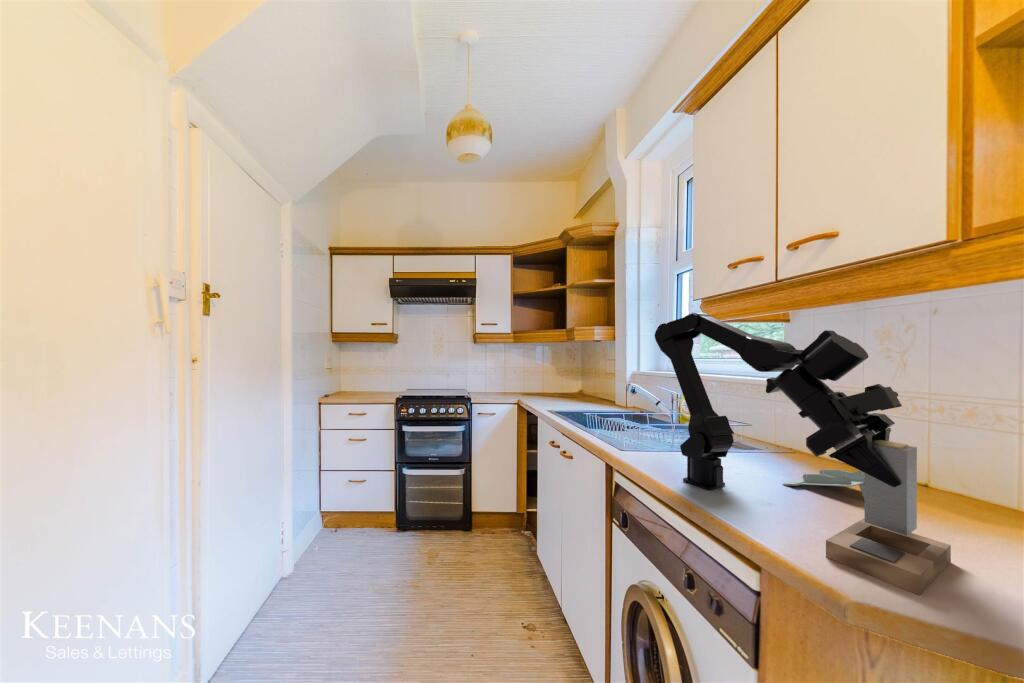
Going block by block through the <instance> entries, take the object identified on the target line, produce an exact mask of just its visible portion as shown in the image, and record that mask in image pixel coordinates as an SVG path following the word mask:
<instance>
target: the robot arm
mask: <svg viewBox="0 0 1024 683" xmlns="http://www.w3.org/2000/svg"><path fill="white" fill-rule="evenodd" d="M700 335H703V336H705V337H707V338H709V339H711V340H713V341H715V342H717V343H719V344H721V345H723V346H725V347H727V348H729V349H731V350H732V351H734V352H736V353H737V354H738V355H739V357H740V358H741V361H743V362H745V364H747V365H748V366H750V367H751V368H752V369H754V370H755V371H757V372H761V373H780V374H778V375H777V376H776V377H769V378H766V386H765V393H767V394H771V393H773V394H774V393H777V392H782V393H783V394H784V395H785V396H786V398H788V400H790V401H791V402H792V403H793V404H794V405H795V406H796V407H797V408H798V409H799V410H800V411H799V412H798V413H797V414H798V415H799V416H800V417H801V418H802V419H805V418H806V419H807V418H808V419H809V420H810V421H811V422H812V423H813V424H814V425H815V426H816V427H817V429H818V430H817V431H815V432H813V433H812V434H810V435H809V436H807V437H806V439H805V446H806V448H807V449H809V451H810V452H811V453H812V454H813V455H814V456H815V457H819V456H822V455H825V454H826V453H827V451H829V450H830V449H832V448H833V449H834V450H835V451H833V452H831V453H830V454H829V455H828V457H829V458H831V459H835V460H837V461H839V462H842V463H844V464H846V465H848V466H850V467H853V468H855V469H856V470H857V471H862V472H864V473H866V474H868V475H870V476H872V477H874V478H876V479H878V480H880V481H882V482H884V483H886V484H888V485H890V486H892V487H897V486H899V485H901V482H900V481H899V479H898V478H897V477H896V476H895V474H894V473H893V472H892V471H891V469H890V468H889V467H888V466H887V465H886V464H885V462H884V461H883V460H882V459H881V458H880V456H879V455H878V454H877V453H876V452H875V451H874V449H873V448H872V441H875V440H877V441H879V440H883V441H889V442H890V435H891V432H892V428H891V427H892V426H894V425H895V424H896V422H894V421H893V419H891V418H890V417H889V416H887V415H886V414H885V413H877V412H875V411H886V410H891V409H896V408H900V407H902V406H903V405H902V403H901V401H900V400H899V399H898V397H899V394H898V392H897V391H894V390H893V388H892V387H891V386H883V385H882V384H881V383H875V384H873V385H869V386H864V387H865V388H864V392H860V393H856V394H852V395H847V394H846V393H845V392H843V391H841V392H840V391H834V390H833V389H832V388H830V387H829V386H828V385H827V384H826V383H825V382H824V381H827V380H829V381H832V382H837V381H838V380H840V379H841V378H843V377H845V375H847V374H848V373H849V372H851V371H852V370H854V369H855V368H856V367H857V366H859V365H861V364H862V363H863V362H864V361H867V359H868V358H869V353H868V352H867V351H866V349H864V348H863V347H862V346H861V345H860V344H859V343H857V342H853V341H852V340H850V339H848V338H847V337H845V336H843V335H840V334H838V333H836V331H835V330H829V329H828V330H825V329H824V331H822V332H821V333H819V335H818V336H817V338H815V339H814V341H812V342H811V343H810V344H809V345H808V346H807V347H806V348H804V349H796V347H795V346H794V345H793V344H791V343H788V342H785V341H780V340H776V339H772V338H768V337H762V336H759V335H758V336H757V335H755V334H754V335H753V334H751V333H748V332H747V331H745V330H742V329H739V328H738V327H735V326H734V325H731V324H728V323H726V322H724V321H721V320H720V319H717V318H714V317H713V316H711V315H710V314H708V313H705V312H704V313H703V312H691V313H690V314H687V315H685V316H684V317H681V318H678V319H675V320H671V321H669V322H667V323H665V322H664V323H661V324H659V326H657V329H656V330H655V333H654V340H655V342H656V344H657V346H658V347H659V350H660V351H661V352H662V353H663V354H664V355H665V356H666V357H667V358H669V361H671V364H672V367H673V370H674V373H675V376H676V379H677V382H678V385H679V387H680V389H681V393H682V395H683V398H684V402H685V404H686V406H687V409H688V413H689V415H690V417H689V422H688V426H687V430H688V435H689V437H688V438H687V439H686V440H685V441H684V442H682V444H680V446H679V448H680V452H681V455H682V456H684V457H686V459H687V462H686V463H687V464H686V466H687V467H686V471H687V472H686V477H684V478H682V481H683V482H686V483H687V484H691V485H694V486H697V487H699V488H702V489H704V490H708V491H710V490H713V489H717V488H720V487H724V486H726V482H724V467H723V465H722V458H727V455H728V453H729V450H730V449H731V448H732V446H733V444H734V442H735V441H734V436H733V435H735V432H734V430H733V429H732V427H731V426H730V422H729V421H730V420H729V418H728V417H727V416H726V415H719V414H717V412H716V411H714V409H713V406H712V404H711V401H710V398H709V396H708V393H707V391H706V388H705V386H704V384H703V381H702V378H701V375H700V372H699V369H698V367H697V364H696V363H695V360H694V357H693V353H692V352H693V350H694V348H693V347H694V339H696V338H697V337H700ZM871 412H873V413H871ZM862 472H861V473H862Z"/></svg>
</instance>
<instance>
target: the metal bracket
mask: <svg viewBox="0 0 1024 683" xmlns="http://www.w3.org/2000/svg"><path fill="white" fill-rule="evenodd" d="M781 485H782V486H790V487H791V486H793V487H794V486H795V487H797V486H805V485H807V486H828V487H830V486H831V487H847V488H848V487H850V488H851V487H852V488H853V487H857V486H859V489H860V491H861V494H862V498H863V500H864V502H865V473H864V472H862V471H860V470H856V471H854V472H851V471H847V470H842V469H820V470H819V473H804V474H803V475H802V478H798V479H795V480H791V481H787V482H783V483H782V484H781Z"/></svg>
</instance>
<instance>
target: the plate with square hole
mask: <svg viewBox="0 0 1024 683" xmlns="http://www.w3.org/2000/svg"><path fill="white" fill-rule="evenodd" d="M951 549H952V545H951V544H948V543H945V542H942V541H939V540H935V539H932V538H929V537H926V536H923V535H921V534H916V533H913V532H911V533H910V534H909V535H907V536H906V535H903V534H900V533H897V532H894V531H890V530H887V529H884V528H881V527H878V526H875V525H872V524H869V523H865V517H864V518H862V519H860V520H858V521H856V522H855V523H853V524H851V525H850V526H848V527H847V528H845V529H843V530H841V531H839V532H838V533H836V534H834V535H832V536H831V537H829V538H827V539H826V540H825V558H827V557H828V558H827V559H829V558H830V559H829V560H832V561H834V560H835V562H837V563H840V564H842V565H845V566H847V567H849V568H852V569H854V570H857V571H859V572H861V573H864V574H867V575H868V576H872V577H874V578H876V579H879V580H881V581H884V582H886V583H888V584H891V585H894V586H896V587H899V588H901V589H902V590H906V591H909V592H911V593H914V594H916V595H919V596H921V595H922V593H923V592H925V591H926V589H927V588H928V587H929V586H930V585H931V584H932V583H933V582H934V581H935V580H936V579H937V578H938V577H939V576H940V574H941V573H942V572H944V570H945V569H946V568H947V567H948V566H949V565H950V564H951V563H952V560H951V559H952V558H951V556H952V554H951V553H952V550H951Z"/></svg>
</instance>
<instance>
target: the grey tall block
mask: <svg viewBox="0 0 1024 683" xmlns="http://www.w3.org/2000/svg"><path fill="white" fill-rule="evenodd" d="M872 448H873V449H874V451H875V452H876V453H877V454H878V455H879V456H880V458H881V459H882V460H883V461H884V462H885V464H886V465H887V466H888V467H889V468H890V469H891V471H892V472H893V473H894V474H895V476H896V477H897V478H898V479H899V481H900V482H901V485H899V486H897V487H892V486H890V485H888V484H886V483H884V482H882V481H880V480H878V479H876V478H874V477H872V476H870V475H868V474H866V473H865V501H864V518H865V523H869V524H872V525H875V526H878V527H881V528H884V529H887V530H890V531H894V532H897V533H900V534H903V535H906V536H907V535H909V534H910V533H913V532H914V531H915V530H916V529H917V528H918V527H917V525H918V524H917V523H918V522H917V520H918V519H917V518H918V517H917V516H918V510H917V508H918V506H917V505H918V493H917V492H918V488H917V487H918V478H917V477H918V473H917V472H918V469H917V468H918V467H917V466H918V456H917V455H918V447H917V446H912V445H911V446H910V445H909V444H907V443H900V442H894V441H890V440H889V441H883V440H879V441H877V440H875V441H872Z"/></svg>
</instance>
